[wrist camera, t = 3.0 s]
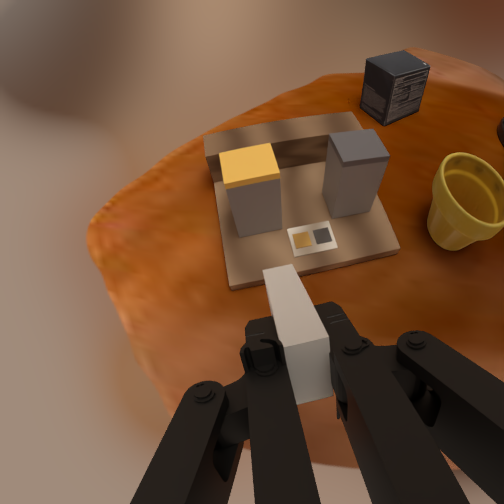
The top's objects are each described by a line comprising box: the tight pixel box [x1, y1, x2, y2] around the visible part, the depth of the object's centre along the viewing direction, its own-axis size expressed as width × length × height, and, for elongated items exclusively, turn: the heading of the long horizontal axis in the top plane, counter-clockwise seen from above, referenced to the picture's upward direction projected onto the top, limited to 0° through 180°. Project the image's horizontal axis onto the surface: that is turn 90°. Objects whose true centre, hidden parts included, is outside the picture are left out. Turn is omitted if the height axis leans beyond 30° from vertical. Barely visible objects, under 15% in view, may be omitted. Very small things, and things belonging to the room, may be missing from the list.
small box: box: [360, 50, 430, 126], centre depth 41 cm, size 11×6×10 cm, turn 121°
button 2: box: [219, 143, 282, 238], centre depth 32 cm, size 5×4×10 cm
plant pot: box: [427, 152, 504, 251], centre depth 30 cm, size 10×10×10 cm
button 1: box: [322, 129, 390, 219], centre depth 31 cm, size 5×4×10 cm
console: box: [203, 112, 400, 291], centre depth 35 cm, size 20×19×6 cm
